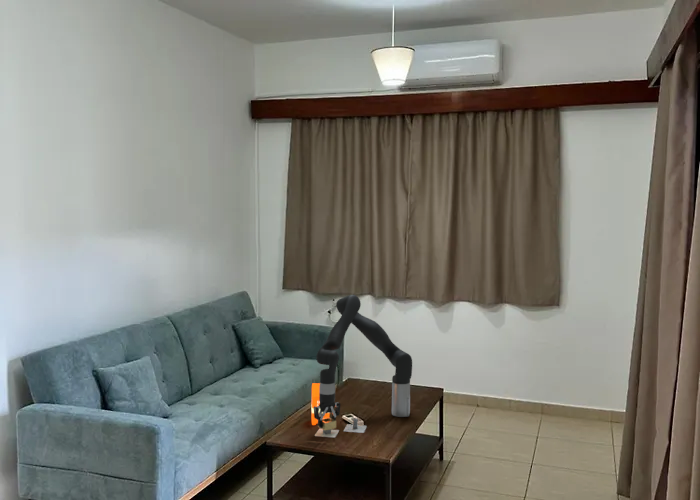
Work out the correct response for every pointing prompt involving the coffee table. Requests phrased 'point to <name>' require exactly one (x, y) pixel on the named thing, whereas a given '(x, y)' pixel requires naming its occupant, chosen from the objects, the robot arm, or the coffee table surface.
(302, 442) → the coffee table surface
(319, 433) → the hub
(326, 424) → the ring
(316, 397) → the orange juice
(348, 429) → the rod stand
